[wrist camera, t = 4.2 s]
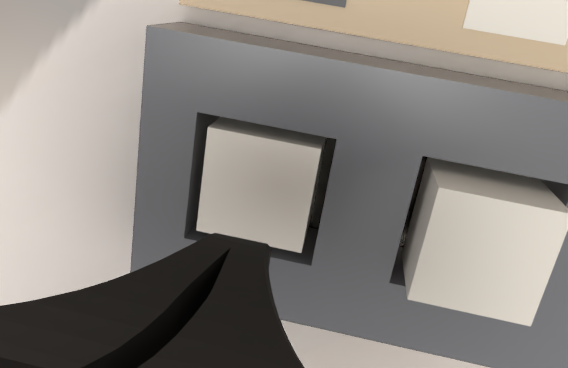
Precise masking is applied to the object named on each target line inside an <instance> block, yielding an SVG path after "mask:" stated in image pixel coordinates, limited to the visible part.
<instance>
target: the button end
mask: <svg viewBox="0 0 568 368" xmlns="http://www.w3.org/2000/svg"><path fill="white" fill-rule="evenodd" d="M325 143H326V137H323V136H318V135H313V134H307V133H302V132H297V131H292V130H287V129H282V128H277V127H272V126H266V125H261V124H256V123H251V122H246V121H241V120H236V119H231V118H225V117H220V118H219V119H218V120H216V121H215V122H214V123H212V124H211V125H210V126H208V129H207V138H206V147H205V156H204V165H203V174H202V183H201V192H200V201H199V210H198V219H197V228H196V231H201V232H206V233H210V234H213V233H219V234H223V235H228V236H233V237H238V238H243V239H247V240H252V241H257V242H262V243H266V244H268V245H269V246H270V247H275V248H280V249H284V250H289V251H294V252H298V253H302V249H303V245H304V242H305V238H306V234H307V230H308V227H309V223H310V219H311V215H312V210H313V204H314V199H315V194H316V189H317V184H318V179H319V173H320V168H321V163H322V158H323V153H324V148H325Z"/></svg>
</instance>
